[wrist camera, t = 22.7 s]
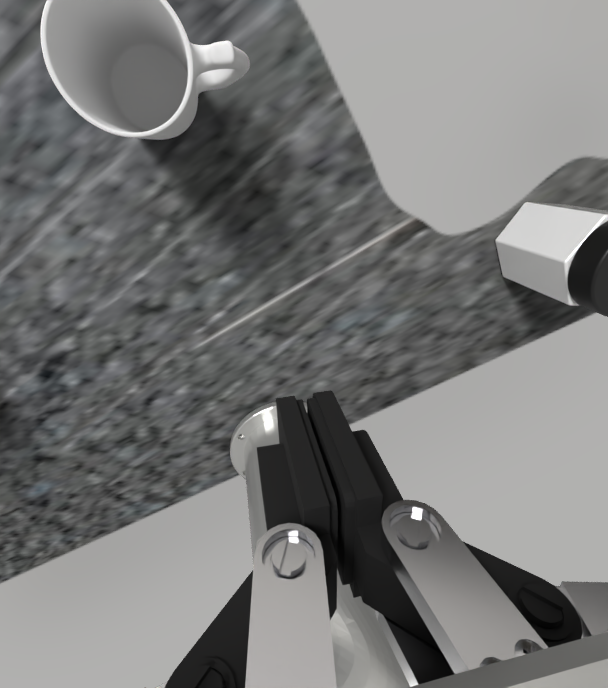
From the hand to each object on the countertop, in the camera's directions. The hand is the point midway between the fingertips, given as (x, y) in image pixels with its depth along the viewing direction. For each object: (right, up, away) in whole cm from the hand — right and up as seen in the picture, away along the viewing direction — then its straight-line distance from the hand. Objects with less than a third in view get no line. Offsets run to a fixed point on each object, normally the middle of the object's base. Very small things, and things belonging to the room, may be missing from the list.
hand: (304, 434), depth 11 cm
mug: (-10, +22, +18) cm, 30 cm away
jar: (+24, +14, +30) cm, 41 cm away
